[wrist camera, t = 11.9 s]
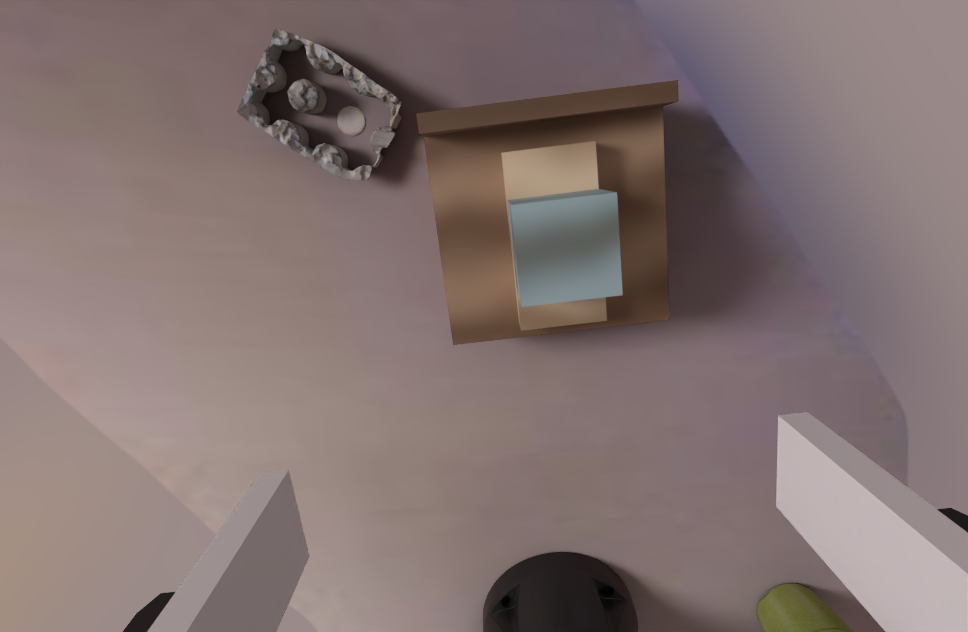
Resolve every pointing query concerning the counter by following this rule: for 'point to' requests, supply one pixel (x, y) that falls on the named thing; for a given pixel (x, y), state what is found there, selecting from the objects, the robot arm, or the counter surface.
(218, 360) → the counter surface
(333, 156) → the miniature stone ruin
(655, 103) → the dock
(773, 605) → the plant pot
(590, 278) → the blue cube on tile
